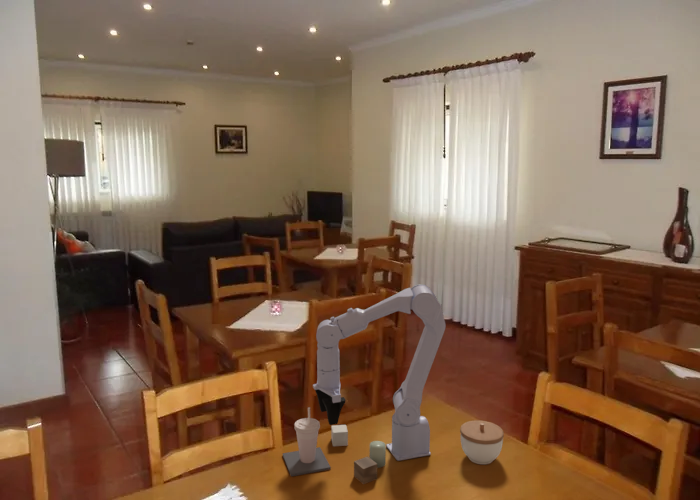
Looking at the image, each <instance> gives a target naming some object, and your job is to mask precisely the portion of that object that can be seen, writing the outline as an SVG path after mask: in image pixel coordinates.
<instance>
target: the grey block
mask: <svg viewBox="0 0 700 500" xmlns="http://www.w3.org/2000/svg"><path fill="white" fill-rule="evenodd" d="M330 426H331V427H330V429H331V434H330V435H331V443H332V447H342V446H344V447H345V446H349V431H348V427H347V425H346V424H334V425H330Z"/></svg>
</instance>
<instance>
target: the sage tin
mask: <svg viewBox="0 0 700 500" xmlns="http://www.w3.org/2000/svg"><path fill="white" fill-rule="evenodd" d="M386 449H387V447H386V443H385V442H384V441H381V440H373V441H371V442H369V458H370V459H371V460H373V461H374V462H375V463H377V469H378V468H383V467H384V466H386V453H387V451H386Z"/></svg>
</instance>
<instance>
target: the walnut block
mask: <svg viewBox="0 0 700 500" xmlns="http://www.w3.org/2000/svg"><path fill="white" fill-rule="evenodd" d="M353 477H354V478H355V479H356V480H358V481H359V482H360V483H361V484H362V485H365V484H367V483H370V482H371V483H372V482H373V481H375V480H378V468H377V463H375V462H374V461H373V460H371V459H370V456H365V457H363V458H359V459H357V460H354V461H353Z"/></svg>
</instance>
